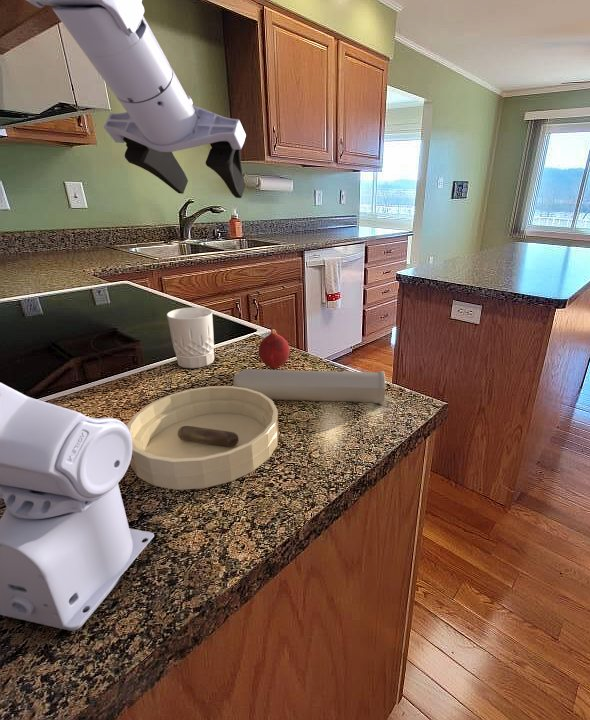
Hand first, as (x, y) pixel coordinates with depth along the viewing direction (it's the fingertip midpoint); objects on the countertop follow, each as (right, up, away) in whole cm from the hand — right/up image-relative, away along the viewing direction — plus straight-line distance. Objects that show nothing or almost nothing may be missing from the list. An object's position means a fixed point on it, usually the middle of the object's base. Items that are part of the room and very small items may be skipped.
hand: (211, 189), depth 49 cm
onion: (+1, -23, +28) cm, 36 cm away
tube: (+9, -28, +18) cm, 34 cm away
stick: (-2, -32, +4) cm, 33 cm away
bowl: (-2, -33, +4) cm, 33 cm away
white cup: (-15, -22, +29) cm, 39 cm away
